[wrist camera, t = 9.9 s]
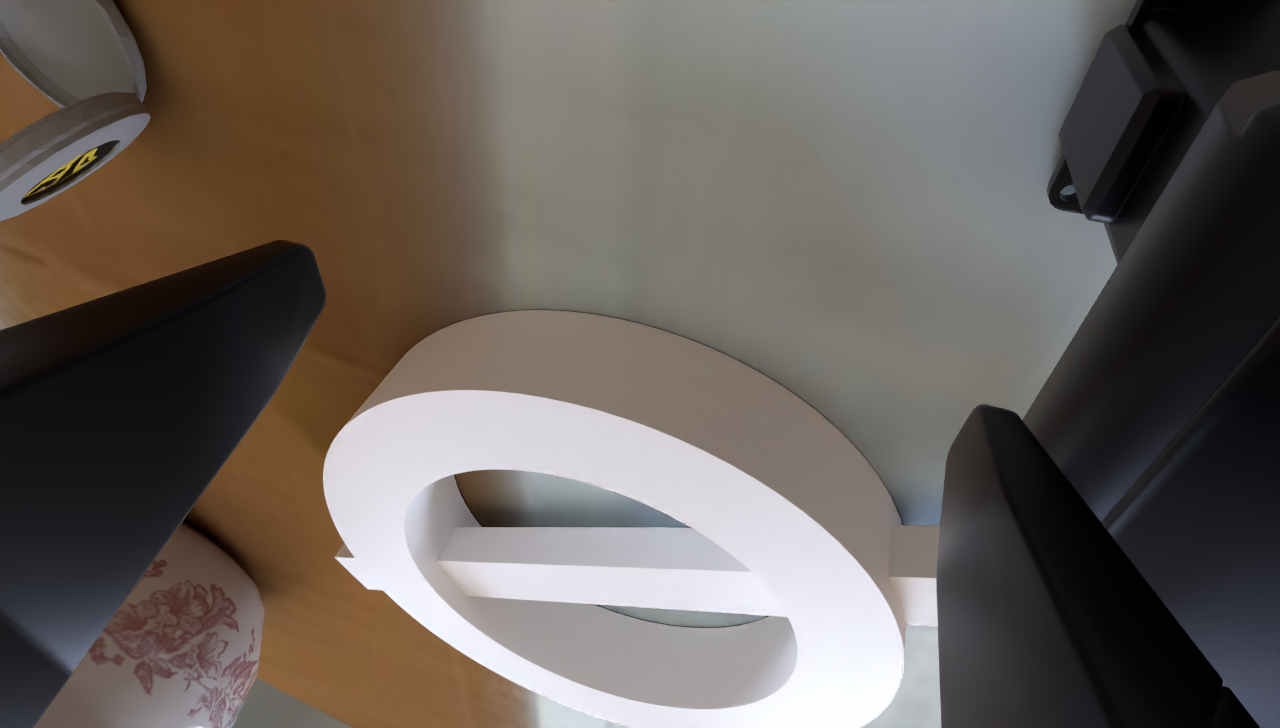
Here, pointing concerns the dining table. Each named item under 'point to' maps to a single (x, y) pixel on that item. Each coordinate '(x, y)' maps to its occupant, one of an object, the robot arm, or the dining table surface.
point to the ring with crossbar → (634, 557)
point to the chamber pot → (171, 647)
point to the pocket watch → (69, 95)
